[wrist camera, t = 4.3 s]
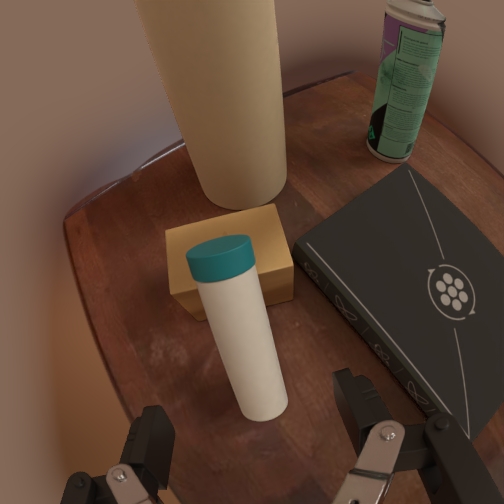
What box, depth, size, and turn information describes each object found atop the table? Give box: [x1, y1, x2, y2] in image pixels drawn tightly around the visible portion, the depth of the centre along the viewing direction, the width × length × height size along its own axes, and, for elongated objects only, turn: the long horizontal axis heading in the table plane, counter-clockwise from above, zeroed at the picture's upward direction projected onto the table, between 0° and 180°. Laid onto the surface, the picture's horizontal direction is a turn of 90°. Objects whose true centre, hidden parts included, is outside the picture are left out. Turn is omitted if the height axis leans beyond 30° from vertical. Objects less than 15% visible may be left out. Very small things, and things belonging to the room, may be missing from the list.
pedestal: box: [134, 0, 287, 210], centre depth 21 cm, size 9×9×24 cm
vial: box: [186, 234, 288, 421], centre depth 18 cm, size 11×4×11 cm, turn 12°
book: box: [292, 163, 504, 443], centre depth 21 cm, size 22×15×3 cm
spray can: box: [367, 0, 446, 163], centre depth 22 cm, size 6×6×20 cm
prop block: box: [165, 203, 294, 321], centre depth 23 cm, size 5×8×6 cm, turn 102°
